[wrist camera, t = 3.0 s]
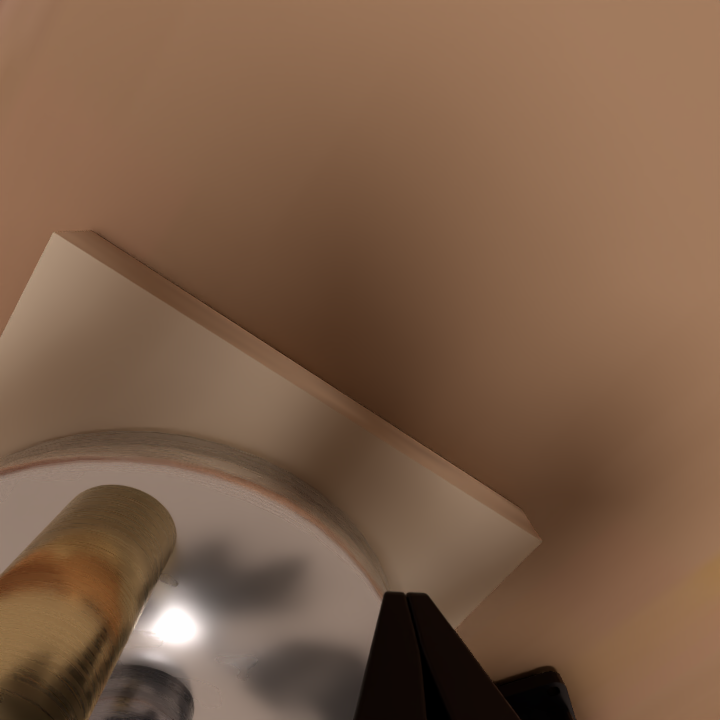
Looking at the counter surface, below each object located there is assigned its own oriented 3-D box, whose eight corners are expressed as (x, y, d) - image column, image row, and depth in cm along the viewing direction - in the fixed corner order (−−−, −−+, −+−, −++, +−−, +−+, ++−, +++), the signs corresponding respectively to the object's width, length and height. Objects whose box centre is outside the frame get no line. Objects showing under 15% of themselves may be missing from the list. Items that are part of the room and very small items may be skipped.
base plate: (521, 509, 14) (542, 541, 12) (237, 803, 18) (229, 853, 16) (91, 230, 11) (53, 232, 9) (-139, 668, 15) (-191, 717, 13)
